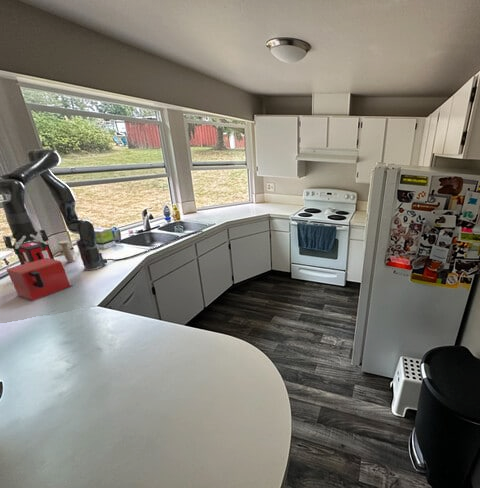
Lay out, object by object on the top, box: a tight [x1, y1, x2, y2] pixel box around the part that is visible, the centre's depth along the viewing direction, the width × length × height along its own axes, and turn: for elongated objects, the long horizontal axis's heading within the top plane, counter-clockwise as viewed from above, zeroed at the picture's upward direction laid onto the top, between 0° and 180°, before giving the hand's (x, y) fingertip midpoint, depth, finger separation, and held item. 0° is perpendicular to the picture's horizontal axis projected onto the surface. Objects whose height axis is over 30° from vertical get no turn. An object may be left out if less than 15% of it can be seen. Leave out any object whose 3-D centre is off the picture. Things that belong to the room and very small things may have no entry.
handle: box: [58, 239, 75, 263], centre depth 173 cm, size 5×6×15 cm
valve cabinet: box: [5, 258, 61, 301], centre depth 137 cm, size 12×16×16 cm
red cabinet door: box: [20, 261, 71, 301], centre depth 135 cm, size 6×16×16 cm, turn 161°
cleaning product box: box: [16, 240, 55, 265], centre depth 154 cm, size 16×9×20 cm, turn 70°
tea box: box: [93, 226, 116, 250], centre depth 202 cm, size 15×10×15 cm
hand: (31, 252), depth 127 cm, fingers open, 8 cm apart
